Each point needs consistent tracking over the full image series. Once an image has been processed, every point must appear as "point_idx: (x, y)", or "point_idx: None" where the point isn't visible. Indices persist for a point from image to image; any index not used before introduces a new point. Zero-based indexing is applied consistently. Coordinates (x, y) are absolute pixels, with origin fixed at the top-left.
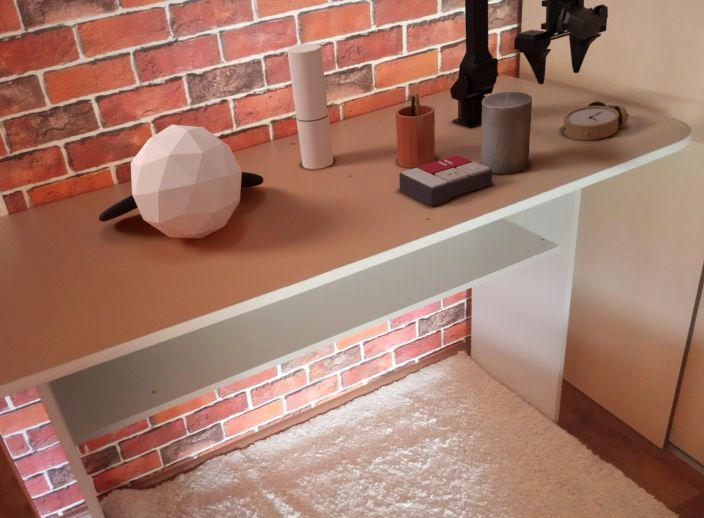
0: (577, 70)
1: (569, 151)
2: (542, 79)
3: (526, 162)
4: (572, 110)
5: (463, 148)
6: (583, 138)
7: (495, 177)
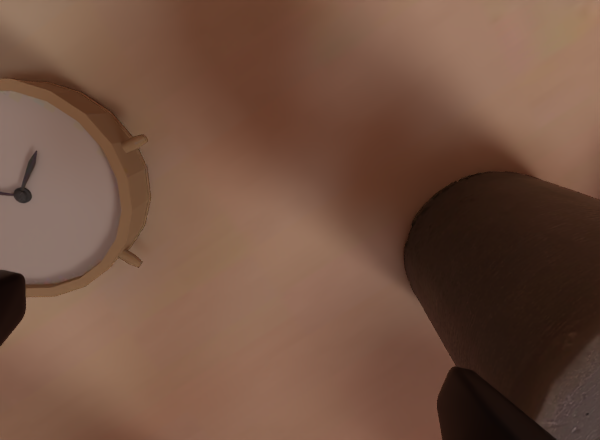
0: (3, 285)
1: (261, 135)
2: (504, 397)
3: (489, 177)
4: None
5: (410, 433)
6: (138, 155)
7: None
